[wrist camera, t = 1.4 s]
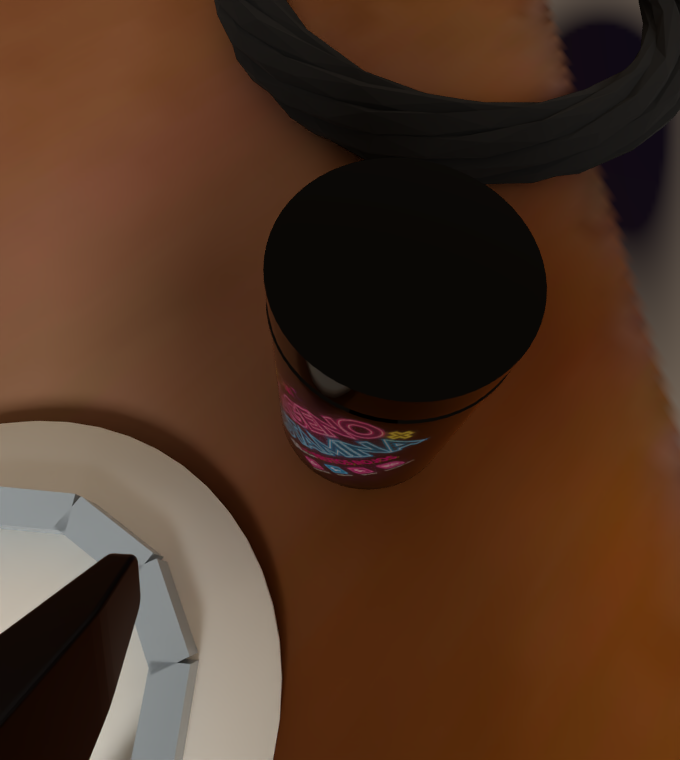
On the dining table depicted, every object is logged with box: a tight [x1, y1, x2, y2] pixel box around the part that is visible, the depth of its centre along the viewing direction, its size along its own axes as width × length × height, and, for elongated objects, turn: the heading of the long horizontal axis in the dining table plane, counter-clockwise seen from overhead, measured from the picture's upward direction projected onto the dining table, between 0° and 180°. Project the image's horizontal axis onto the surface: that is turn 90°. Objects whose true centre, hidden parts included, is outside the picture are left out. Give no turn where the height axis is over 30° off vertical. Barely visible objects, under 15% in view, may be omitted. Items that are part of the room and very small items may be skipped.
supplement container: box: [263, 158, 547, 490], centre depth 18 cm, size 7×7×10 cm
